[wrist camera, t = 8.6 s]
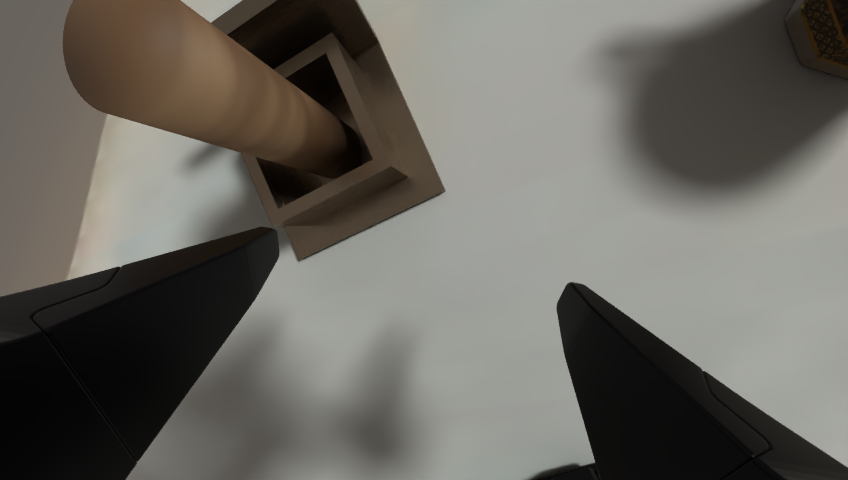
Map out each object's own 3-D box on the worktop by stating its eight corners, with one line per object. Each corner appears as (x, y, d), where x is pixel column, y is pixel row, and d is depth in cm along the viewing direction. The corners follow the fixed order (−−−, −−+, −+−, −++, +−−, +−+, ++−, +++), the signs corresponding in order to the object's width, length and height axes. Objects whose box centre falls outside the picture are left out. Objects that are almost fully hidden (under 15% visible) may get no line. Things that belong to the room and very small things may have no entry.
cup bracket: (445, 190, 21) (428, 175, 14) (303, 258, 23) (228, 274, 16) (375, 34, 21) (325, -58, 14) (241, 116, 23) (141, 72, 16)
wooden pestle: (369, 163, 21) (198, 70, 8) (322, 188, 22) (96, 139, 9) (346, 111, 21) (140, -63, 8) (300, 138, 22) (43, 17, 9)
